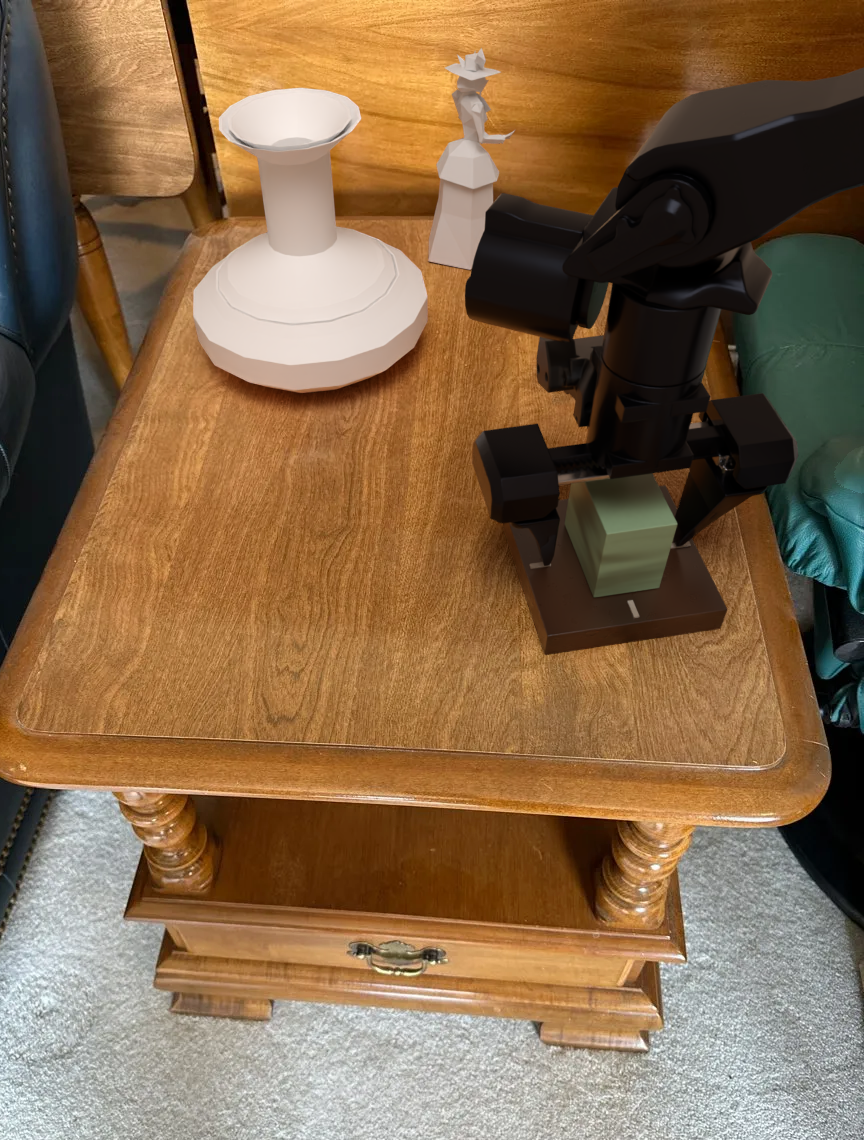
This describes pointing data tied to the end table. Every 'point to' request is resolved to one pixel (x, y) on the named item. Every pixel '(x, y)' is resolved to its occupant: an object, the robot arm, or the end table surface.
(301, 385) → the white vase
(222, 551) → the end table surface
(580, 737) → the end table surface
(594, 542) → the box
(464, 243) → the figurine
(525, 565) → the plate
